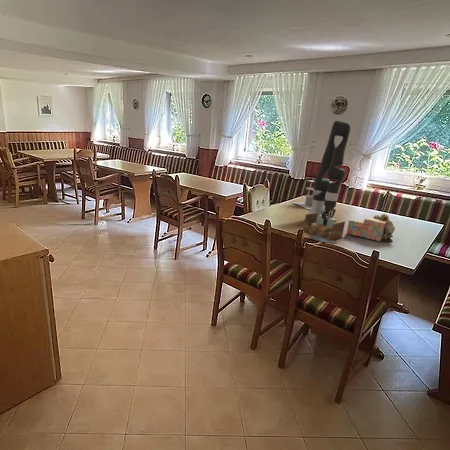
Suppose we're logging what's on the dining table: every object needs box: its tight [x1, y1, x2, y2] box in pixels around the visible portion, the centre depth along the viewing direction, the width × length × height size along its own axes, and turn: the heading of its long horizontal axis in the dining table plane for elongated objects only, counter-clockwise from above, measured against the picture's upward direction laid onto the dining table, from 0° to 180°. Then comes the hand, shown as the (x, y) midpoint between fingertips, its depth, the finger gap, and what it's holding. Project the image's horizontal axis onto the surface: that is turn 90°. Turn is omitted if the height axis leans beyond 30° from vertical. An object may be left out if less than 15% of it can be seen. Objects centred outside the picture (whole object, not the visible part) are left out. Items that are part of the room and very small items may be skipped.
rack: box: [302, 212, 346, 241], centre depth 216 cm, size 22×12×11 cm, turn 39°
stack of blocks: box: [346, 216, 386, 242], centre depth 215 cm, size 21×6×12 cm, turn 58°
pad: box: [308, 234, 337, 245], centre depth 205 cm, size 14×8×1 cm, turn 39°
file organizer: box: [292, 179, 332, 211], centre depth 293 cm, size 26×35×22 cm
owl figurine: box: [372, 213, 396, 244], centre depth 215 cm, size 18×12×17 cm, turn 39°
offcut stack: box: [311, 222, 331, 233], centre depth 216 cm, size 16×5×4 cm, turn 39°
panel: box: [316, 215, 337, 231], centre depth 218 cm, size 12×2×10 cm, turn 39°
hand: (326, 224), depth 218 cm, fingers closed on panel, 2 cm apart
